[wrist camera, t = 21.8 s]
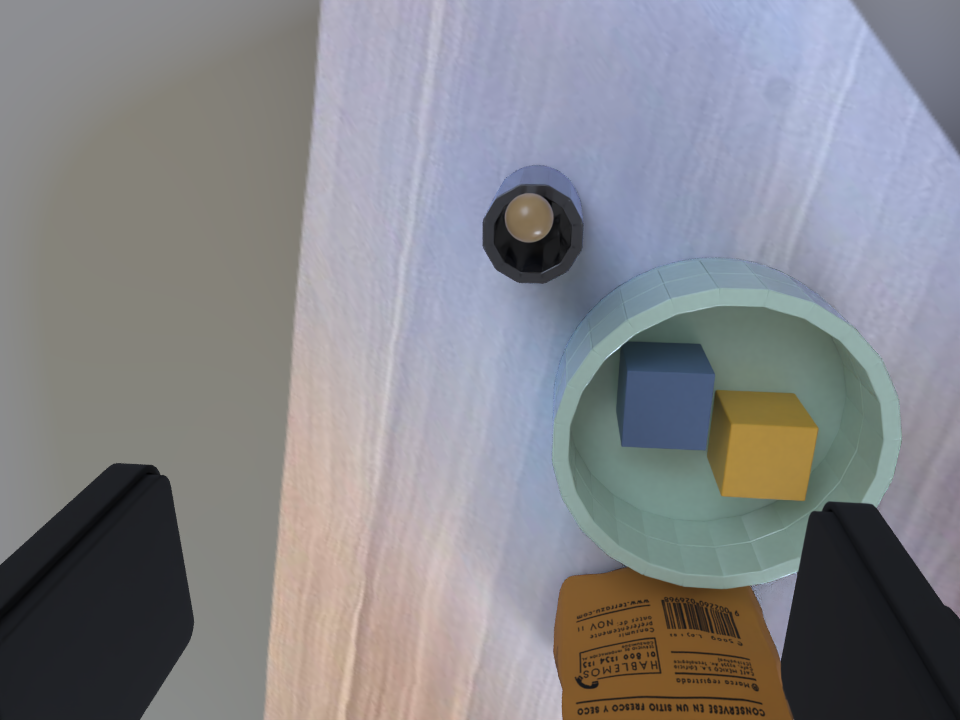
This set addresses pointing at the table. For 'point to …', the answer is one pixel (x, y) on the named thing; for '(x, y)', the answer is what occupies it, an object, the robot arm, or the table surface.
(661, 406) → the block
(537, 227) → the stick
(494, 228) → the holder
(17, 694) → the robot arm
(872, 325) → the table surface
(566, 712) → the coffee package
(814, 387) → the bowl
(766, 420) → the block
